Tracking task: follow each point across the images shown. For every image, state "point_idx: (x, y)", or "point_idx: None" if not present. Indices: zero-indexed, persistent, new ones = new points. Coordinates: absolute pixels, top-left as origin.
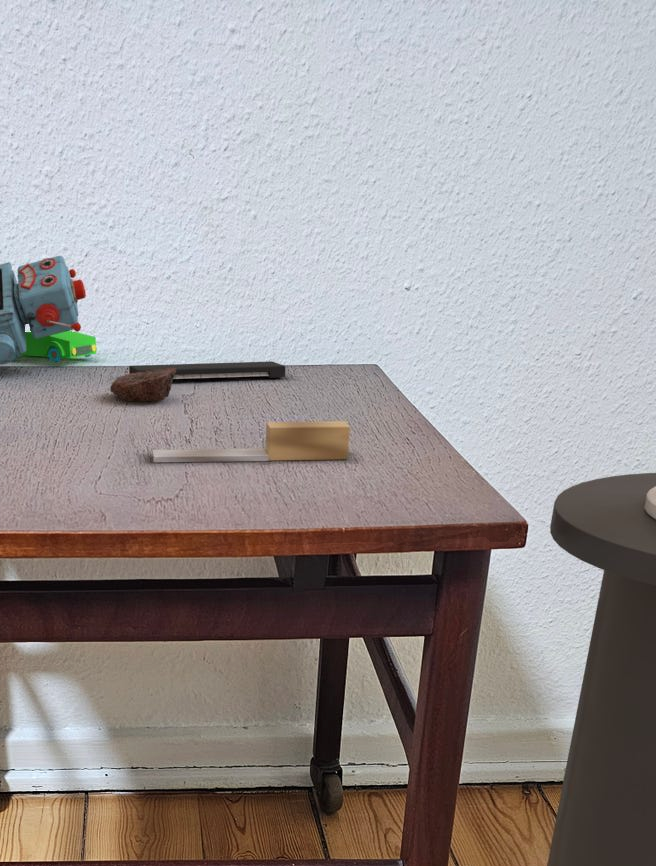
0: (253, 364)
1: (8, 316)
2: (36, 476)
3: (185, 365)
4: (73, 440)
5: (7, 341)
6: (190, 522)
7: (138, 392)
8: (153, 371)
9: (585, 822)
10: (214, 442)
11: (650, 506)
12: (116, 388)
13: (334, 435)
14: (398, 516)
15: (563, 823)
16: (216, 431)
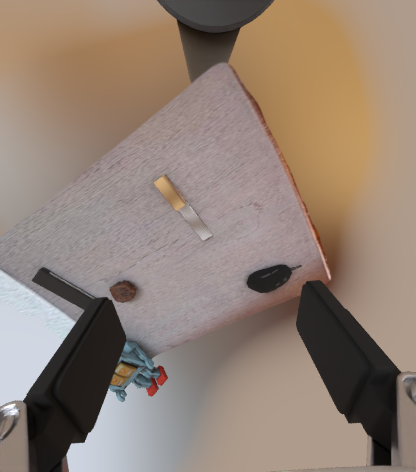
0: (47, 282)
1: (123, 355)
2: (247, 254)
3: (74, 300)
4: (197, 272)
5: (127, 347)
6: (279, 183)
7: (134, 287)
8: (114, 294)
9: (238, 30)
10: (170, 232)
11: None
12: (133, 296)
13: (167, 181)
14: (239, 113)
15: (228, 44)
16: (153, 241)
